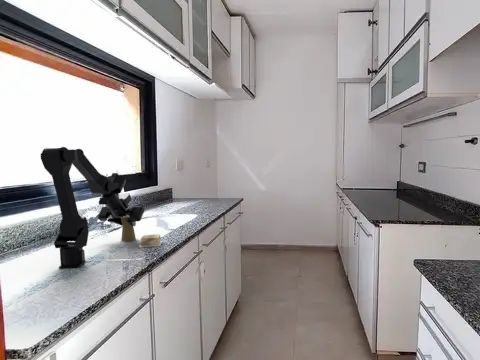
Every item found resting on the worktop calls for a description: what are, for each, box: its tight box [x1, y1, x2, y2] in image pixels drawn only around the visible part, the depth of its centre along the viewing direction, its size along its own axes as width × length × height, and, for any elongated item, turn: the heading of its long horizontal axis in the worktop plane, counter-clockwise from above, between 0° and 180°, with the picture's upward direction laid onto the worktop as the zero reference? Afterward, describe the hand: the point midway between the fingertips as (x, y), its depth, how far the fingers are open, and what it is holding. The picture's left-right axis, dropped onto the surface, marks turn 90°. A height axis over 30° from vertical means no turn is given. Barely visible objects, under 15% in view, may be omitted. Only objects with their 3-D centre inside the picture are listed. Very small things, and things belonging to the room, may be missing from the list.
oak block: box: [140, 233, 162, 247], centre depth 146 cm, size 6×6×3 cm
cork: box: [120, 215, 136, 243], centre depth 154 cm, size 6×6×11 cm
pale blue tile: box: [138, 240, 163, 248], centre depth 146 cm, size 12×11×1 cm
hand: (129, 225), depth 156 cm, fingers closed on cork, 5 cm apart
